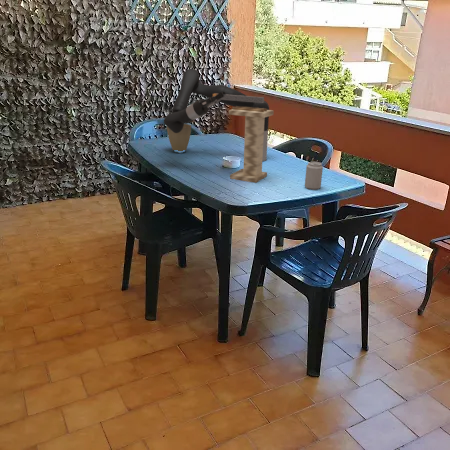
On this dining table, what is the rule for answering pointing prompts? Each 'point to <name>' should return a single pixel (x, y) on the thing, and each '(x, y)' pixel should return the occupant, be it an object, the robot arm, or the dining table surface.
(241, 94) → the robot arm
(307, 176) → the can
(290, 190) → the dining table surface
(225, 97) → the bar
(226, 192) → the dining table surface
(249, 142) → the stand
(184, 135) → the plant pot
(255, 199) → the dining table surface
